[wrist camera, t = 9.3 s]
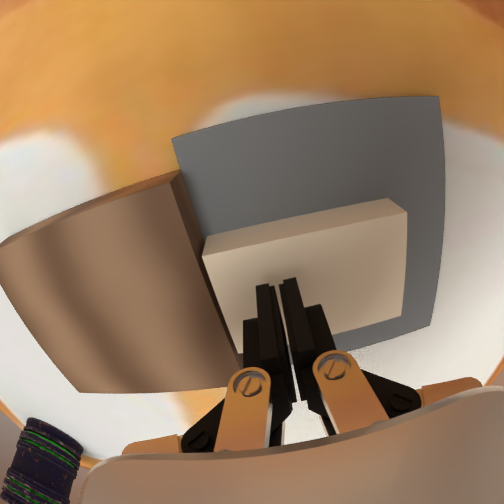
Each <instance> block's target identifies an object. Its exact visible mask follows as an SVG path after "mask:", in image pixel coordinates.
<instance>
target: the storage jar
mask: <svg viewBox="0 0 504 504" xmlns="http://www.w3.org/2000/svg"><path fill="white" fill-rule="evenodd" d="M26 423H27V424H26V426H25V427H24V429H23V430H24V431H22V432H21V434H20V436H19V438H20V439H19V440H18V442H17V446H16V447H17V451H16V454H15V456H14V459H13V462H12V465H11V467H10V468H8V471H7V474H6V476H7V477H9V478H10V480H9V479H7V478H5V479H4V482H3V483H4V484H6V485H7V487H5V486H3V488H2V489H3V491H2V493H1V495H0V498H2V499H3V500H5V501H6V502H8V503H9V504H69V503H70V500H69V495H70V491H71V487H72V483H73V480H74V479H76V476H77V470H79V466H80V463H79V461H80V460H81V457H80V456H81V454H82V453H83V447H82V446H81V445H80V444H79V443H78V442H77V441H76V440H74V439H73V438H72V437H70V436H69V435H67V434H66V433H64V432H63V431H61V430H59V429H57V428H56V427H54V426H52V425H50V424H48V423H46V422H44V421H41V420H39V419H36V418H28V419H27V422H26Z"/></svg>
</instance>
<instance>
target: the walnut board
mask: <svg viewBox="0 0 504 504" xmlns="http://www.w3.org/2000/svg"><path fill="white" fill-rule="evenodd" d="M204 246H205V244H204V241H203V238H202V235H201V232H200V229H199V226H198V223H197V220H196V217H195V214H194V211H193V207H192V204H191V201H190V198H189V195H188V192H187V189H186V186H185V182H184V179H183V176H182V173H181V169H180V170H177V171H174V172H171V173H167V174H164V175H161V176H158V177H155V178H152V179H149V180H146V181H143V182H140V183H137V184H134V185H131V186H128V187H125V188H122V189H120V190H117V191H114V192H111V193H109V194H106V195H103V196H101V197H98V198H96V199H93V200H90V201H88V202H85V203H83V204H80V205H78V206H76V207H73V208H71V209H68V210H66V211H64V212H61V213H59V214H57V215H54V216H52V217H50V218H48V219H45V220H43V221H41V222H39V223H37V224H35V225H32V226H30V227H28V228H26V229H24V230H22V231H20V232H18V233H16V234H14V235H12V236H10V237H8V238H7V239H5V240H4V241H3V242H2V243H0V285H1V286H2V288H3V290H4V292H5V293H6V295H7V297H8V299H9V300H10V302H11V303H12V305H13V307H14V308H15V310H16V312H17V313H18V315H19V316H20V318H21V319H22V321H23V322H24V324H25V325H26V327H27V328H28V330H29V331H30V332H31V334H32V335H33V337H34V338H35V339H36V341H37V342H38V344H39V345H40V346H41V348H42V349H43V350H44V351H45V353H46V354H47V355H48V357H49V358H50V359H51V360H52V362H53V363H54V364H55V365H56V367H57V368H58V369H59V370H60V371H61V373H62V374H63V375H64V376H65V377H66V378H67V380H68V381H69V382H70V383H71V384H72V385H73V386H74V387H75V388H76V390H77V391H78V392H80V393H114V394H125V393H160V392H177V391H190V390H201V389H211V388H220V387H228V384H229V381H230V379H231V378H232V376H233V375H234V374H235V373H237V372H238V371H240V370H242V369H243V353H239V354H238V352H237V349H236V347H235V344H234V342H233V339H232V337H231V334H230V332H229V329H228V326H227V324H226V321H225V319H224V316H223V313H222V311H221V308H220V305H219V303H218V300H217V297H216V295H215V292H214V289H213V286H212V284H211V281H210V278H209V275H208V273H207V270H206V267H205V264H204V261H203V258H202V254H203V250H204Z"/></svg>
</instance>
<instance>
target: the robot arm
mask: <svg viewBox="0 0 504 504" xmlns="http://www.w3.org/2000/svg"><path fill="white" fill-rule="evenodd" d="M278 285H279V290H280V296H281V301H282V307H283V312H284V318H285V323H286V329H287V334H288V340H289V346H290V351H291V356H292V361H293V365H294V370H295V374H296V379H297V384H298V388H299V393H300V397H301V401H304V400H307V403H308V409H309V410H311V411H313V412H315V413H317V414H319V418H320V420H321V423H322V425H323V428H324V430H325V433H326V435H327V437H324V438H320V439H315V440H310V441H305V442H299V443H294V444H288V445H284V434H285V419H286V418H287V417H288V416H289V415H290V414H291V413H292V412H291V411H292V410H293V408H292V403H294V402H297V399H296V393H295V386H294V380H293V374H292V368H291V362H290V356H289V350H288V344H287V338H286V333H285V329H284V324H283V320H282V316H281V311H280V307H279V303H278V299H277V294H276V290H275V286H274V285H273V286H269V283H266V284H261V285H257V286H256V302H257V318H252V319H246V320H243V369H242V370H240V371H238V372H237V373H235V374H234V375H233V376H232V378H231V379H230V381H229V384H228V388H227V393H226V397H225V398H224V399H223V400H222V401H221V402H220V403H219V404H218V405H216V406H215V407H214V408H213V409H212V410H211V411H210V412H209V413H207V414H206V415H205V416H204V417H203V418H202V419H200V420H199V421H198V422H197V423H196V424H195V425H193V426H192V427H191V428H190V429H189V430H188V431H187V432H186V433H185V434H184V435H181V436H178V435H177V434H175V435H171V436H166V437H161V438H156V439H151V440H145V441H140V442H134V443H131V444H129V445H128V446H126V447H125V448H124V450H123V452H122V455H120V456H115V457H112V458H109V459H106V460H103V461H101V462H99V463H97V464H96V465H94V466H93V467H92V468H91V469H90V471H89V472H88V474H87V476H86V478H85V480H84V483H83V486H82V488H81V492H80V495H79V499H78V504H504V386H484V387H483V386H482V384H481V382H480V381H478V380H477V379H475V378H472V377H465V378H461V379H457V380H452V381H447V382H442V383H437V384H432V385H426V386H422V388H421V389H417V390H414V389H413V388H411V387H408V386H405V385H403V384H400V383H397V382H394V381H391V380H388V379H386V378H383V377H380V376H378V375H375V374H372V373H370V372H367V371H364V370H362V369H360V367H359V366H358V364H357V362H356V361H355V359H354V358H353V357H352V355H351V354H349V353H347V352H345V351H341V350H337V349H336V346H335V343H334V340H333V337H332V334H331V331H330V328H329V325H328V322H327V319H326V317H325V314H324V311H323V308H322V305H321V304H317V305H313V306H308V307H304V305H303V301H302V297H301V294H300V290H299V287H298V283H297V280H296V277H293V278H289V279H284V280H283V284H278Z"/></svg>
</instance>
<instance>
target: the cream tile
mask: <svg viewBox="0 0 504 504" xmlns="http://www.w3.org/2000/svg"><path fill="white" fill-rule="evenodd" d="M406 251H407V212H406V211H405V210H404V209H402V208H401V207H400V206H398V205H397V204H396V203H394V202H393V201H391V200H390V199H389V198H384V199H379V200H374V201H369V202H364V203H358V204H353V205H348V206H343V207H338V208H333V209H329V210H324V211H319V212H314V213H309V214H304V215H300V216H295V217H290V218H286V219H281V220H276V221H272V222H267V223H263V224H258V225H254V226H249V227H245V228H240V229H236V230H231V231H227V232H223V233H218V234H214V235H210V236H207V238H206V242H205V246H204V250H203V254H202V258H203V261H204V264H205V267H206V270H207V273H208V275H209V278H210V281H211V284H212V286H213V289H214V292H215V295H216V297H217V300H218V303H219V305H220V308H221V311H222V313H223V316H224V319H225V321H226V324H227V326H228V329H229V332H230V334H231V337H232V339H233V342H234V344H235V347H236V349H237V352H238V354H239V353H243V320H246V319H252V318H257V302H256V286H257V285H261V284H266V283H269V286H273V285H274V286H275V290H276V294H277V299H278V303H279V307H280V311H281V316H282V320H283V324H284V329H285V333H286V338H287V344H288V345H289V340H288V334H287V329H286V323H285V318H284V312H283V307H282V301H281V296H280V290H279V285H278V284H283V280H284V279H289V278H293V277H296V280H297V283H298V287H299V290H300V294H301V297H302V301H303V305H304V307H308V306H313V305H317V304H321V305H322V308H323V311H324V314H325V317H326V319H327V322H328V325H329V328H330V331H331V334H332V335H333V334H337V333H341V332H345V331H349V330H353V329H357V328H360V327H364V326H368V325H371V324H375V323H378V322H382V321H385V320H389V319H392V318H395V317H398V316H401V312H402V303H403V293H404V282H405V269H406Z"/></svg>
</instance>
